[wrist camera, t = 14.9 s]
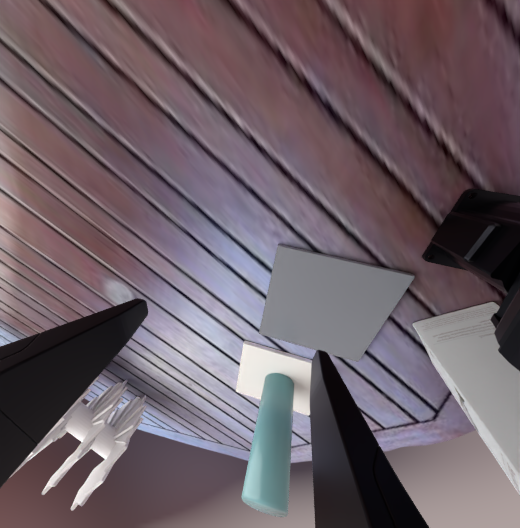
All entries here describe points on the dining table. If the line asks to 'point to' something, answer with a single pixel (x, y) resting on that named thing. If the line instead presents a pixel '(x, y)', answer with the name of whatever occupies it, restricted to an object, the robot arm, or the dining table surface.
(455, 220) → the robot arm
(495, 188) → the dining table surface
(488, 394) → the supplement box
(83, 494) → the spiral staircase
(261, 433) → the teal cylinder
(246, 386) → the pale tile
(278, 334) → the slate tile
